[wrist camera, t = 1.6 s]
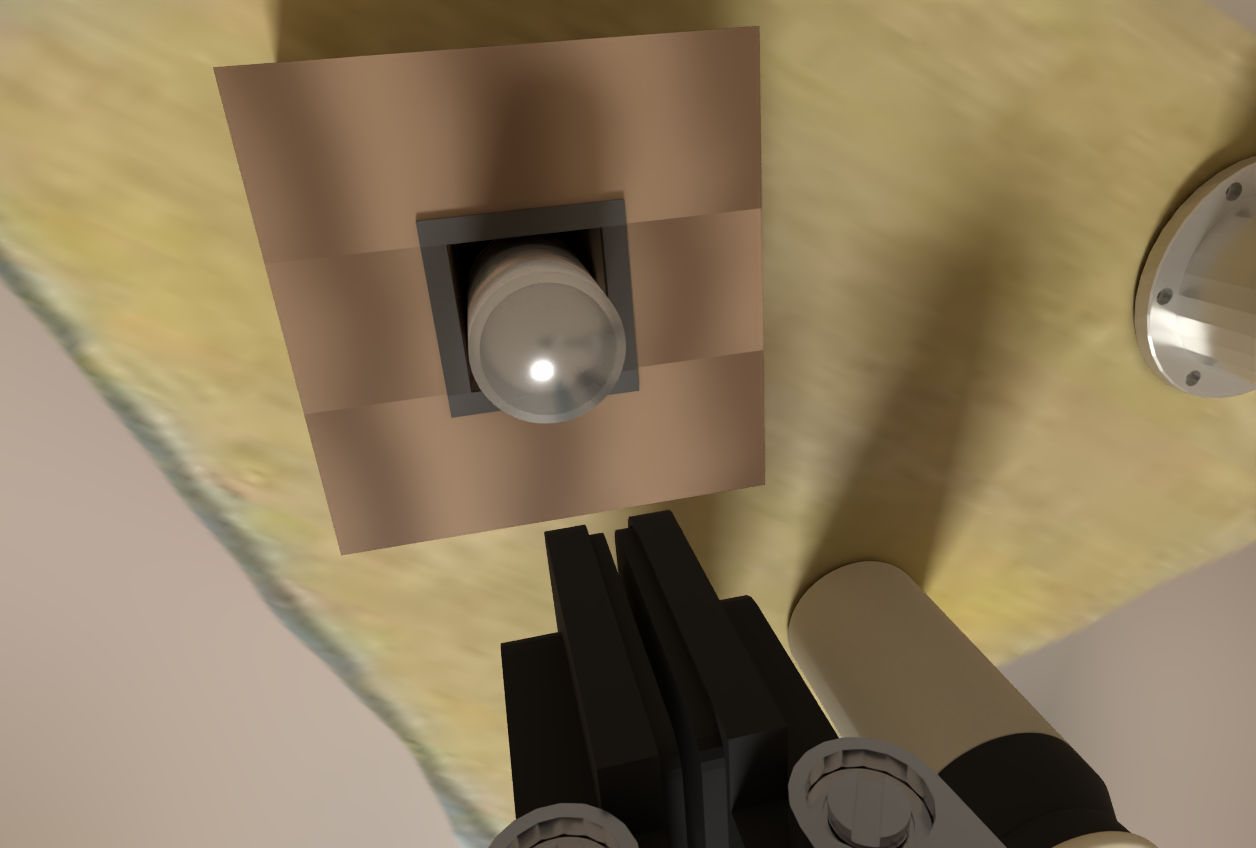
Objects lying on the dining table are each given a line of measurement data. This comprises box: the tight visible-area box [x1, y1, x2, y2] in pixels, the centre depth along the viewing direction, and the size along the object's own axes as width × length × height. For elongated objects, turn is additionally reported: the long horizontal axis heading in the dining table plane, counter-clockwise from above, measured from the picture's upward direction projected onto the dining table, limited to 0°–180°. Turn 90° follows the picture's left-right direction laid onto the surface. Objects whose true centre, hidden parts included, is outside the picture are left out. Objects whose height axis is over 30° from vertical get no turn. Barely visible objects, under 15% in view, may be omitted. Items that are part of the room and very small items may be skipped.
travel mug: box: [788, 561, 1158, 848], centre depth 36 cm, size 8×8×18 cm
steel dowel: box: [467, 234, 626, 424], centre depth 25 cm, size 4×4×8 cm
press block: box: [213, 26, 765, 555], centre depth 30 cm, size 16×16×8 cm
